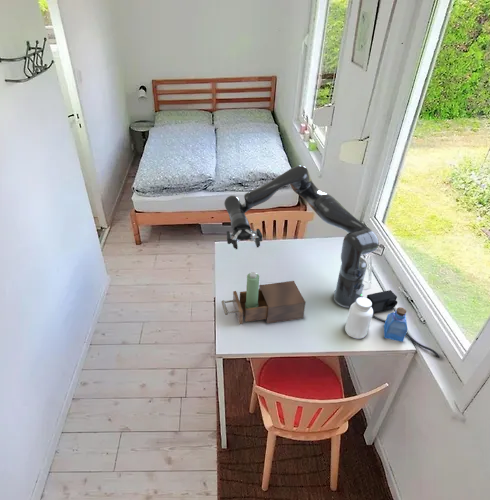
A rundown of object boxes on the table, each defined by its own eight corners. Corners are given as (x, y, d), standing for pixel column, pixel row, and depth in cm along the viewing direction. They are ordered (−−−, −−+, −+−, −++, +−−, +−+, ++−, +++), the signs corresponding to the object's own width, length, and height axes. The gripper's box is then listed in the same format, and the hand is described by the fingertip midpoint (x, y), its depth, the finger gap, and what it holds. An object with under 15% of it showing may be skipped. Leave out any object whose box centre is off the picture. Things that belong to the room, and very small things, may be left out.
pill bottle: (367, 327, 145) (376, 297, 136) (365, 342, 139) (374, 312, 130) (346, 321, 148) (353, 292, 139) (343, 335, 142) (350, 306, 133)
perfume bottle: (401, 329, 143) (410, 306, 136) (402, 341, 138) (411, 318, 131) (383, 326, 145) (391, 302, 138) (384, 337, 140) (392, 314, 133)
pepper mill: (260, 309, 152) (263, 274, 141) (251, 315, 149) (253, 280, 139) (251, 302, 155) (253, 268, 144) (242, 309, 152) (243, 274, 142)
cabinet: (267, 323, 148) (268, 307, 143) (258, 300, 159) (259, 285, 154) (303, 318, 150) (305, 302, 145) (291, 296, 160) (293, 280, 155)
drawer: (226, 326, 146) (226, 313, 142) (220, 305, 156) (220, 292, 152) (273, 319, 148) (274, 307, 144) (264, 299, 158) (265, 286, 154)
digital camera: (371, 316, 149) (375, 303, 145) (363, 307, 153) (367, 294, 149) (394, 311, 151) (399, 298, 147) (386, 302, 155) (390, 289, 151)
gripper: (223, 218, 160) (229, 240, 147) (257, 216, 161) (265, 237, 148) (223, 233, 164) (229, 255, 151) (256, 231, 165) (264, 252, 152)
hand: (247, 246), depth 149 cm, fingers open, 8 cm apart
